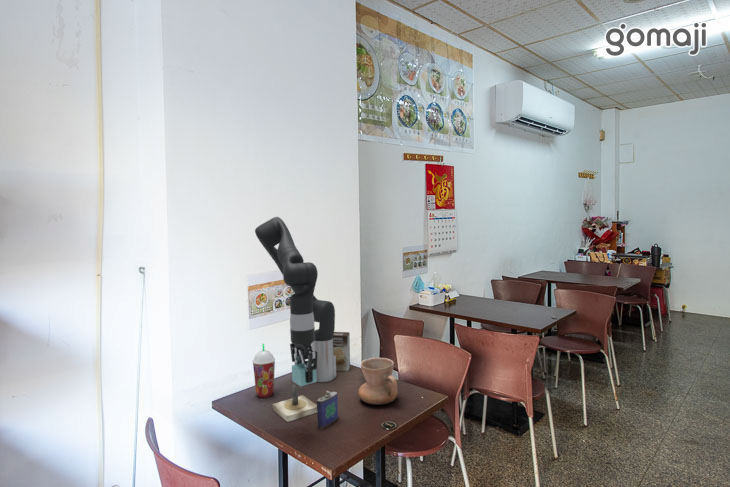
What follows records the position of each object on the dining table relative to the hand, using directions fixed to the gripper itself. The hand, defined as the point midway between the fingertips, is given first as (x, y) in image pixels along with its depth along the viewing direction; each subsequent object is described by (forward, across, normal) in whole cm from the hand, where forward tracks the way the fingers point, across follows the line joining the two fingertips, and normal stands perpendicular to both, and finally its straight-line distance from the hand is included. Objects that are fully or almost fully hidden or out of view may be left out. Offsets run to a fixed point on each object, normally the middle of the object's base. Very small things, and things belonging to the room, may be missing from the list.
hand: (304, 379), depth 133 cm
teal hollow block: (+1, 0, 0) cm, 1 cm away
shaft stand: (+17, +16, -4) cm, 24 cm away
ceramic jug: (+18, +3, -32) cm, 37 cm away
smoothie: (+17, +36, -1) cm, 40 cm away
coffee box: (+18, +41, -39) cm, 59 cm away
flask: (+17, +1, -9) cm, 20 cm away
